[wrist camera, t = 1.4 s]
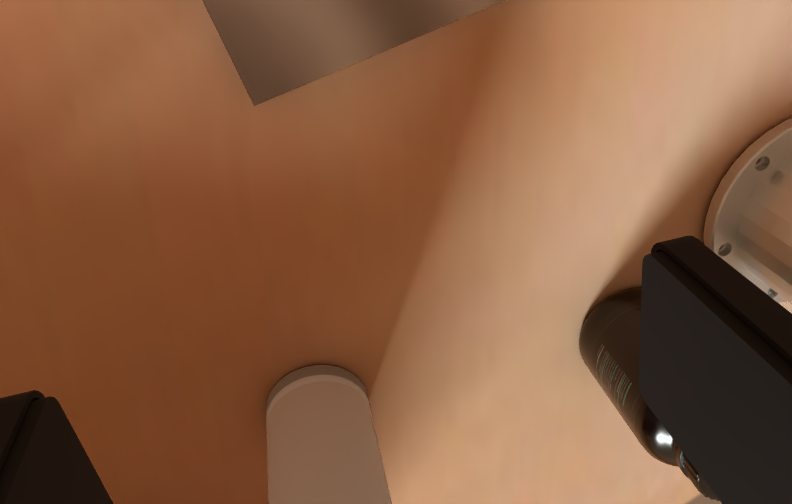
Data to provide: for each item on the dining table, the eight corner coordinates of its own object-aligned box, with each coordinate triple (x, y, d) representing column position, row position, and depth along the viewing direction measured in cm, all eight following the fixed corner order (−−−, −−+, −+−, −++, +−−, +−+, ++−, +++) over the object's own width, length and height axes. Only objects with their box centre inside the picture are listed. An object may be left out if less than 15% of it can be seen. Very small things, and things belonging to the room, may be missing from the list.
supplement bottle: (685, 279, 43) (825, 406, 32) (663, 366, 46) (783, 506, 35) (584, 287, 41) (695, 422, 31) (568, 376, 45) (664, 524, 34)
